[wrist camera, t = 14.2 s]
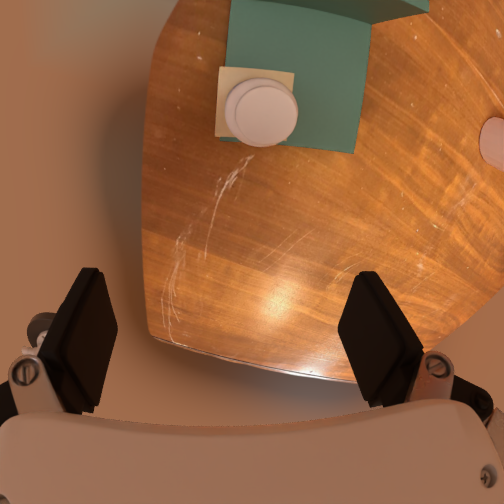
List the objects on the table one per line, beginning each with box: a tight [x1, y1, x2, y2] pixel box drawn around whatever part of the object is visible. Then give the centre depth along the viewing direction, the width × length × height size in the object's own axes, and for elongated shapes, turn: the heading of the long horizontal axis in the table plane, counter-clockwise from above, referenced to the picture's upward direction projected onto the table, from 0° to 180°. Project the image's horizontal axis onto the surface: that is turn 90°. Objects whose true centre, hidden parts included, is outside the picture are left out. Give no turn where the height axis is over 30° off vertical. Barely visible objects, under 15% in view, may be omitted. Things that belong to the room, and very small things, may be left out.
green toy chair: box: [215, 0, 429, 154], centre depth 22 cm, size 14×16×14 cm
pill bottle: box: [225, 78, 298, 147], centre depth 22 cm, size 6×5×10 cm
